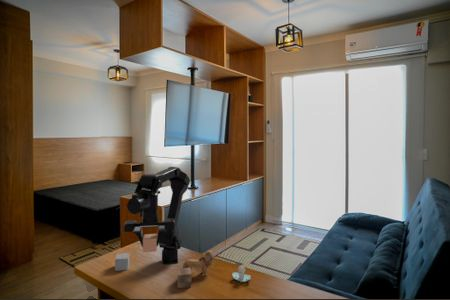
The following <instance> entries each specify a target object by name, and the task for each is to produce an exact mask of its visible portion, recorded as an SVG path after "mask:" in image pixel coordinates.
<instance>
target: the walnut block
mask: <svg viewBox="0 0 450 300" xmlns="http://www.w3.org/2000/svg"><path fill="white" fill-rule="evenodd" d="M192 276H193V275H192V270H191V268H183V267H181V268H179V267H178V268H177V280H176V281H177V282H176V283H177V289H181V288H182V289H184V288H191V287H192V279H193V278H192Z"/></svg>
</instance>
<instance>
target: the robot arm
mask: <svg viewBox="0 0 450 300" xmlns="http://www.w3.org/2000/svg"><path fill="white" fill-rule="evenodd" d="M167 181H168V182H170V189H171V192H172V193H171V198H170V203H169V208H168V213H167V217H166V218H164V221H159V212H158V211H159V205H158V204H159V195H160V194H161V190H160V188H162V187H163V183H165V182H167ZM190 183H191V179H190V177H189V176H188V174H187V173H186V172H184V171H183V170H181V168H180V167H177V166H175V167H174V166H169V167H168V168H165V169H163V170H161V171H158V172H156V173H146V174H145V173H144V174H142V175H141V176H140V178H139V180H138V182H137V185H136V188H135V190H134V194H132V195H131V198H130V199H128V201H127V204H126V207H127V211H128V212H129V213H130V214H132V215H137V214H139V218H142V221H141V222H137V220H136V219H128V220H127V219H126V221H125V222H124V224H123V232H124V233H131V232H132V234H135V235H136V236H137V238H138V240H139V242H140V243H139V244H140V245H141V247H142V248H143V237H144V235H143V233H144V232H143V228H157V227H158V230H157V247H158V246H159V248H160V249H161V248H162V250H161V261H162V264H163V265H167V264H168V265H169V264H177V263H179V257H178V254H179V253H178V252H179V250H180V249H181V247H182V245H183V240H181V238H180V237H179V234H180V231H179V229H178V221H179V217H180V216H179V215H180V211H181V207H182V201H183V196H184V194H185V193H186V192H187V191H188V189H189V186H190Z"/></svg>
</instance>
